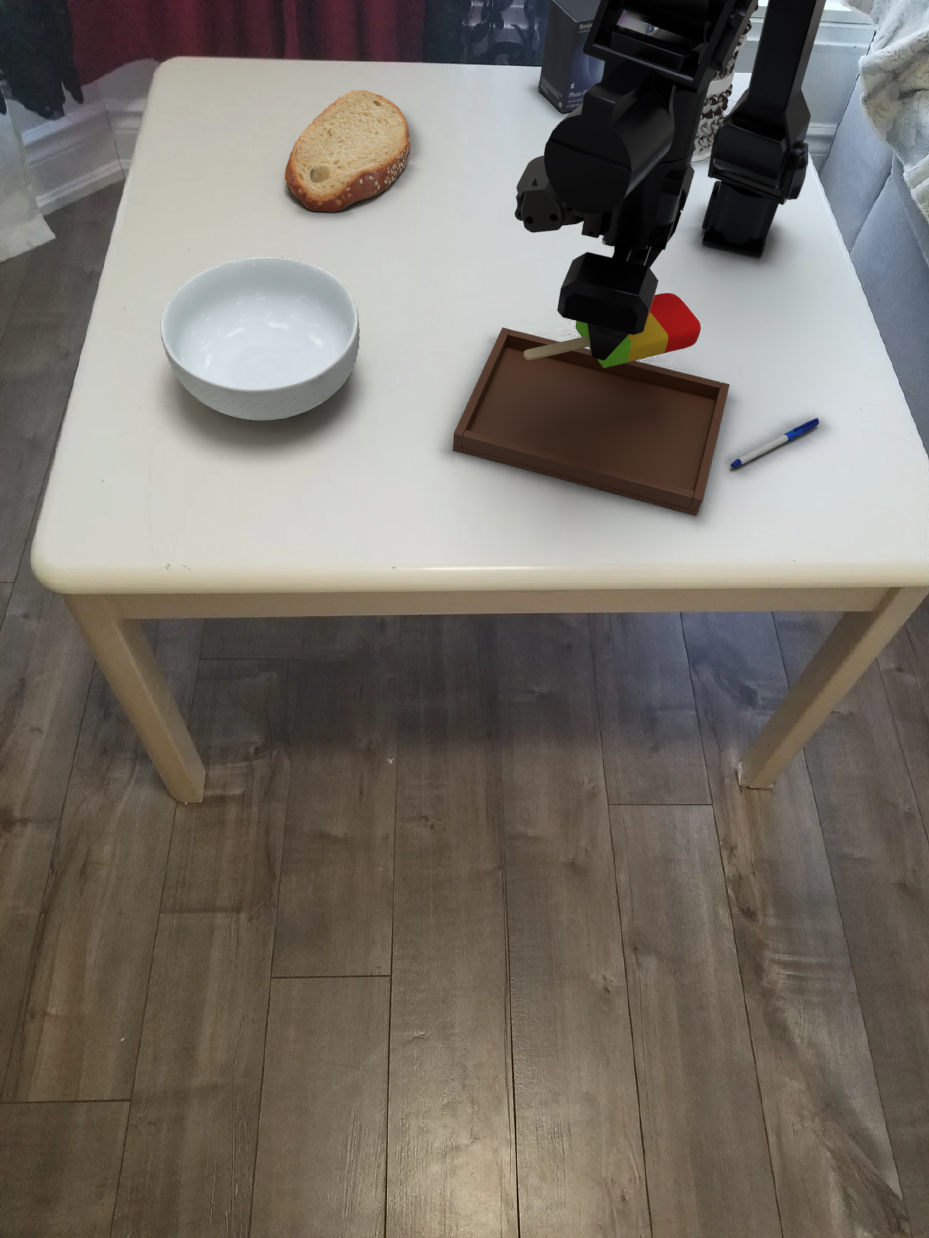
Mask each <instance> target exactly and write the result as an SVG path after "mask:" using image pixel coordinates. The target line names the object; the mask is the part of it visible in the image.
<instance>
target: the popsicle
mask: <svg viewBox="0 0 929 1238" xmlns="http://www.w3.org/2000/svg"><path fill="white" fill-rule="evenodd" d="M575 330H576V331H577V333H578V334H579V335H580V337H576V338H572V339H568V340H563V341H559V342H558V343H554V344H550V345H545V346H541V347H537V348H533V349H528V350H525V351H524V357H525V358H526V359H527V360H534V359H538V358H543V357H547V356H551V355H555V354H559V353H564V352H568V351H572V350H576V349H581V348H588V349H590V350H591V347H590V340H589V332H588V325H587V323H583V322H579V321H575ZM701 330H702V327H701V322H700V320H699V319H698V318H697V316H696V315H695V313H693V312H692V310H691V309H690V308H689V307H688V305H687V303H685V301H684V300H682V299H681V297H680V296H678V295H677V294H675V293H671V292H663V293H658V294H657V293H656V294H655V296H654V300H653V303H652V307H651V310H650V313H649V316H648V319H647V322H646V325H645V328H644V331H643V332H642V333H639V334H636V335H631V334H629V335H628V336H627V337H626V338H625V339H624V340H623V341H622V342H621V343H620V344H619V346H618V347H617V348H616V349H615V350H614V351H613V352H612V353H611V354H610V355H609V356H608V358H607V359H606V360H599V359H598V361H599V362H600V364H601V365H602V366H603V368H606V367H610V366H615V365H619V364H623V363H627V362H631V361H639V360H643V359H647V358H651V357H655V356H659V355H663V354H668V353H672V352H675V351H680V350H684V349H688V348H691V347H693V346H694V345H695V344H696V343H697V341H698V339H699V337H700V334H701Z"/></svg>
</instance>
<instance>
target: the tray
mask: <svg viewBox="0 0 929 1238" xmlns="http://www.w3.org/2000/svg"><path fill="white" fill-rule="evenodd" d="M558 342H560V341H559V340H554V339H550V338H546V337H543V336H539V335H534V334H530V333H527V332H523V331H519V330H514V329H510V328H507V327H502V328H500V331H499V334H498V336H497V338H496V340H495V342H494V344H493V347H492V349H491V351H490V353H489V355H488V357H487V360H486V362H485V364H484V366H483V368H482V370H481V373H480V375H479V377H478V379H477V382H476V383H475V386H474V388H473V390H472V392H471V395H470V396H469V399H468V401H467V403H466V406H465V407H464V410H463V412H462V414H461V417H460V419H459V421H458V422H457V425H456V428H455V429H454V431H453V439H452V450H454V451H457V452H462V453H465V454H468V455H473V456H475V457H480V458H483V459H486V460H490V461H494V462H498V463H500V464H505V465H508V466H513V467H516V468H519V469H522V470H523V469H524V470H527V471H531V472H535V473H539V474H542V475H546V476H550V477H553V478H557V479H559V480H560V479H561V480H563V481H564V480H565V481H568V482H572V483H576V484H579V485H583V486H586V487H590V488H594V489H597V490H600V491H605V492H608V493H612V494H616V495H620V496H624V497H627V498H631V499H634V500H638V501H641V502H645V503H649V504H652V505H656V506H660V507H664V508H668V509H671V510H675V511H679V512H682V513H686V514H689V515H693V516H697V515H698V513H699V510H700V508H701V505H702V503H703V501H704V497H705V492H706V488H707V483H708V480H709V476H710V472H711V471H710V470H711V468H712V467H711V466H712V462H713V458H714V454H715V449H716V445H717V440H718V437H719V436H718V435H719V432H720V428H721V423H722V418H723V415H724V410H725V407H726V403H727V398H728V394H729V390H730V383H726V382H721V381H718V380H714V379H711V378H706V377H702V376H698V375H696V374H695V375H694V374H689V373H687V372H682V371H678V370H674V369H670V368H667V367H663V366H658V365H654V364H650V363H646V362H643V361H639V360H635V361H631V362H627V363H623V364H619V365H615V366H610V367H606V368H603V366H602V365H601V364H600V362H599V361H598V359H596V358H593V357H592V354H591V350H590V348H588V347H585V348H581V349H576V350H572V351H568V352H564V353H559V354H555V355H551V356H547V357H543V358H538V359H534V360H527V359H526V358H525V357H524V351H525V350H528V349H533V348H537V347H541V346H545V345H550V344H554V343H558Z"/></svg>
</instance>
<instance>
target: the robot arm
mask: <svg viewBox="0 0 929 1238" xmlns="http://www.w3.org/2000/svg"><path fill="white" fill-rule="evenodd" d="M826 2H827V0H768V1H767V5H766V8H765V9H766V10H765V14H764V17H763V22H762V27H761V31H760V35H759V39H758V44H757V49H756V52H755V58H754V61H753V65H752V70H751V74H750V79H749V83H748V87H747V88H746V89H745V90H744V91H743V92H742V94H741V95H740V97H739V98H738V100H737V101H736V102H735V104H734V106H733V107H732V109H730V111H729V113H728V114H726V115H724V119H723V120H722V122H721V124H720V126H719V128H718V130H717V132H716V135H715V138H714V141H713V144H712V150H711V156H709V164H708V169H707V178H710V179H715V181H714V182H713V183H714V184H713V187H712V190H711V192H710V196H709V200H708V204H707V206H706V211H705V213H704V217H703V220H702V224H701V229H702V230H703V231H704V233H703V236H702V240H701V244H702V245H703V246H706V247H710V248H715V249H719V250H724V251H726V252H727V251H728V252H732V253H735V254H739V255H740V254H741V255H745V256H750V257H753V258H758V259H759V258H762V257H763V255H764V252H765V248H766V244H767V240H768V236H769V233H770V231H771V227H772V223H773V221H774V218H775V216H776V213H777V210H778V207H779V206H780V205H781V206H784V205H785V204H786V203H787V201H791V200H797V199H798V198H799V197H800V194H801V192H802V189H803V186H804V184H805V180H806V176H807V170H808V166H809V143H808V142H805V141H806V137H807V133H808V130H809V125H810V121H811V117H812V115H811V112H810V109H809V107H808V104H807V101H806V98H805V95H804V93H803V90H802V86H803V83H804V80H805V75H806V72H807V69H808V65H809V62H810V58H811V55H812V52H813V48H814V44H815V42H816V38H817V34H818V31H819V27H820V24H821V20H822V17H823V13H824V10H825V6H826ZM757 3H758V4H759V0H601V1H600V4H599V7H598V9H597V12H596V15H595V17H594V20H593V23H592V26H591V28H590V31H589V34H588V36H587V39H586V42H585V44H584V48H583V54H584V55H587V56H590V57H593V58H595V59H598V60H601V61H604V62H605V64H604V70H603V76H602V79H601V82H599V83H596V84H595V85H593V86H592V87H591V88H590V89H589V90H588V91H586V93H585V95H584V98H583V102H582V103H581V104H580V105H579V106H578V107H577V108H576V109H574V110H572V111H570V113H569V114H568V115H566V116H565V117H564V118H563V119H562V120H561V121H560V122H559V123H558V124H557V125H555V127H554V128H553V130H552V131H551V133H550V135H549V137H548V139H547V141H546V143H545V145H544V151H543V155H539V156H537V157H534V158H533V159H531V160H530V161H529V162H528V163H527V165H526V167H525V169H524V170H523V172H522V174H521V176H520V178H519V180H518V182H517V184H516V192H517V194H516V195H515V199H516V209H515V211H514V217H515V218H516V220H517V221H519V222H522V224H523V227H524V229H525V230H526V231H528V232H530V233H532V234H535V233H545V232H555V231H559V230H560V229H562V227H564V226H566V227H567V226H574V225H578V224H581V223H582V228H581V234H580V235H582V236H584V237H589V238H594V239H599V238H600V236H602V238H601V244H602V245H603V246H607V247H613V253H612V256H606V255H603V254H598V253H595V252H591V251H586V252H584V253H582V254H581V255H579V256H577V257H576V258H574V259H572V261H571V263H570V266H569V267H568V270H567V272H566V274H565V277H564V279H563V282H562V284H561V286H560V290H559V296H558V303H557V309H556V311H557V312H558V314H559V315H560V317H562V318H563V319H567V320H572V321H574V322H576V321H579V322H583V323H587V325H588V332H589V340H590V347H591V354H592V357H593V358H596V359H599V360H606V359H607V358H608V356H609V355H610V354H611V353H612V352H613V351H614V350H615V349H616V348H617V347H618V346H619V344H620V343H621V342H622V341H623V340H624V339H625V338H626V337H627V336H628V335H629V334H631V335H636V334H639V333H642V332H643V331H644V328H645V325H646V322H647V319H648V316H649V313H650V310H651V307H652V303H653V300H654V296H655V295H656V294H657V293H656V292H657V288H658V284H659V279H658V277H657V276H656V275H655V273H654V272H653V271H652V269H651V268H652V266H653V264H654V263H655V262H656V260H657V259H658V257H659V256H660V254H661V253H662V251H666V250H667V249H666V248H667V245H668V243H669V242H670V240H671V239H672V237H673V236H674V234H675V233H676V231H677V228H678V225H679V222H680V219H681V216H682V212H684V209H685V206H686V203H687V200H688V197H689V195H690V190H691V187H692V183H693V180H694V175H695V172H696V171H695V169H694V167H693V165H692V164H691V163H692V162H691V159H692V156H693V152H694V148H695V144H694V142H695V138H696V134H697V131H698V127H699V123H700V119H701V115H702V112H703V108H704V104H705V100H706V96H707V92H708V89H709V85H710V82H711V81H712V79H713V77H714V75H715V74H716V72H717V71H718V72H721V73H724V71H725V69H726V67H727V65H728V63H729V61H730V59H731V57H732V55H733V53H734V51H735V48H736V46H737V44H738V42H739V40H740V38H741V36H742V34H743V32H744V30H745V28H746V26H747V24H748V22H749V20H750V19H751V17H752V15H753V14H754V13H753V11H754V9H755V7H756V5H757ZM624 9H625V12H626V16H627V17H629V18H630V19H633V20H636V21H639V22H642V23H645V24H648V26H651V27H654V28H656V29H654V30H653V31H651V32H649V33H648V34H647V33H646V34H643V33H641V32H638V31H635V30H632V29H629V28H626V27H623V26H620V25H617V23H618V21H619V19H620V17H621V15H622V13H623V11H624ZM752 13H753V14H752ZM750 21H751V20H750Z"/></svg>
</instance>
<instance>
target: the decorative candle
mask: <svg viewBox="0 0 929 1238" xmlns="http://www.w3.org/2000/svg"><path fill="white" fill-rule="evenodd" d="M759 6H760V5H759V2H758V3H757V5H756V7H755V9H754V11H753V13H752V15H753V14H754V13H755V12H757V11H758V10H759V8H760V7H759ZM752 27H753V25H752V22H751V20H749V22H748V24H747V26H746V28H745V30H744V32H743V34H742V36H741V38H740V40H739V42H738V44H737V46H736V48H735V51H734V53H733V55H732V57H731V59H730V61H729V63H728V65H727V67H726V69H725V71H724V73H721V72H718V71H717V72H716V74H715V75H714V77H713V79H712V81H711V82H710V85H709V89H708V92H707V96H706V100H705V104H704V108H703V112H702V115H701V119H700V123H699V127H698V131H697V134H696V138H695V142H694V144H695V148H694V152H693V156H692V159H691V162H690V163H692V162H699V161H703V160H705V159H707V158H710V156H711V150H712V144H713V141H714V138H715V135H716V132H717V130H718V128H719V126H720V124H721V122H722V120H723V119H724V117H725V114H724V112H725V111H726V110H727V109H728V108H729V105H728V104H729V98H730V97H731V96H732V94H733V87H734V86H733V80H734V76H735V72H736V66H735V65H736V62H737V60H738V56H739V52H740V50H741V49H743V47H744V46H745V44H746V43H747V40H748V35H747V34H748V33H749V32H750V31H751V30H752Z"/></svg>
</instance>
